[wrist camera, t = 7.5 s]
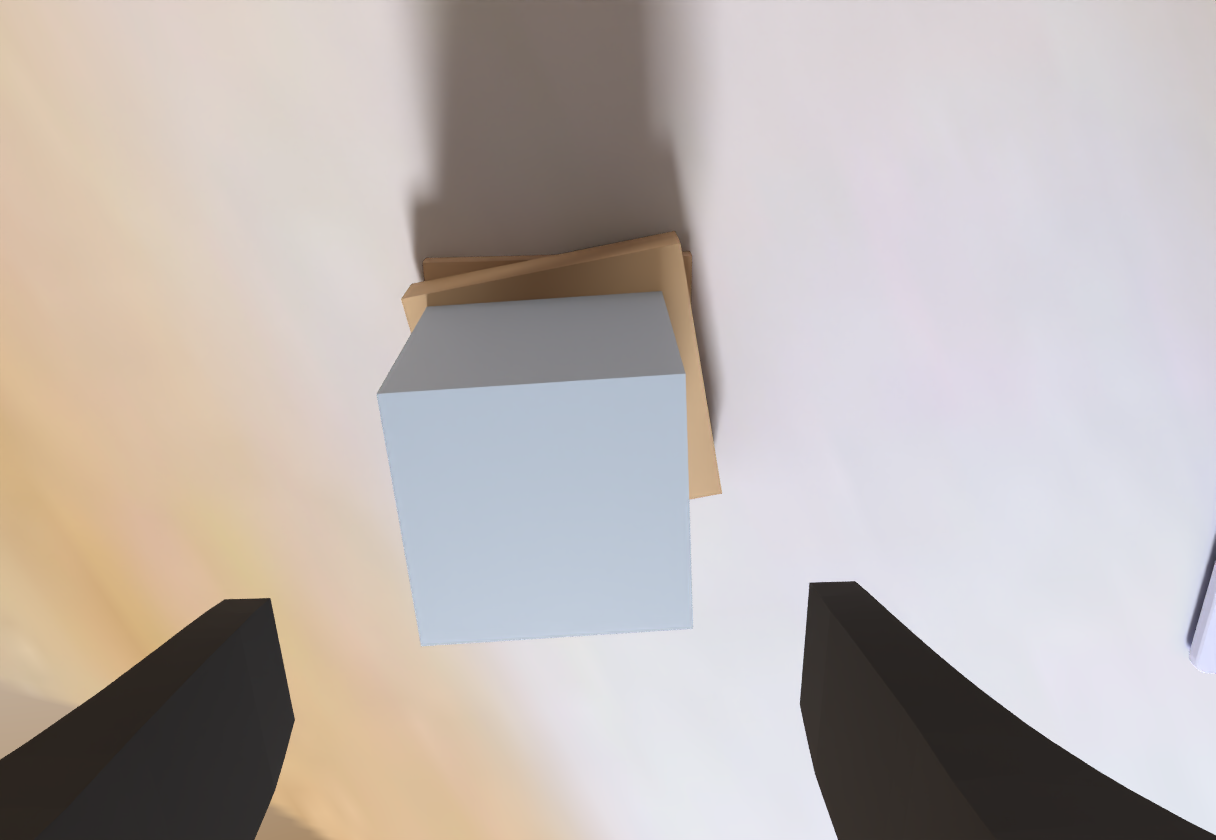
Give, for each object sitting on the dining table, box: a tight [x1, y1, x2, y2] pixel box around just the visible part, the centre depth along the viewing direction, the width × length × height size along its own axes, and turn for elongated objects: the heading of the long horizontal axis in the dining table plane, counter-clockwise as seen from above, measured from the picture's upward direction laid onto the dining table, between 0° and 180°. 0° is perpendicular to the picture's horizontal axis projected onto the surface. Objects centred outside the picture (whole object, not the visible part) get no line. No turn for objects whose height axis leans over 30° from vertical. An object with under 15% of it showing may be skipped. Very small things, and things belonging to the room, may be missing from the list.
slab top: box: [401, 231, 722, 499], centre depth 21 cm, size 6×6×1 cm
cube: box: [377, 291, 693, 646], centre depth 18 cm, size 5×5×5 cm
